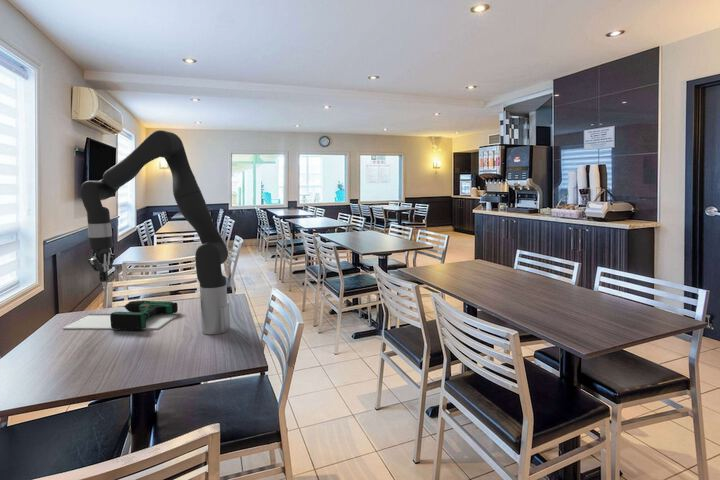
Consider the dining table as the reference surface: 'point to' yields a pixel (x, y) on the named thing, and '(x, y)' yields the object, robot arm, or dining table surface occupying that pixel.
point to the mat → (105, 323)
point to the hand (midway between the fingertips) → (104, 281)
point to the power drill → (140, 314)
